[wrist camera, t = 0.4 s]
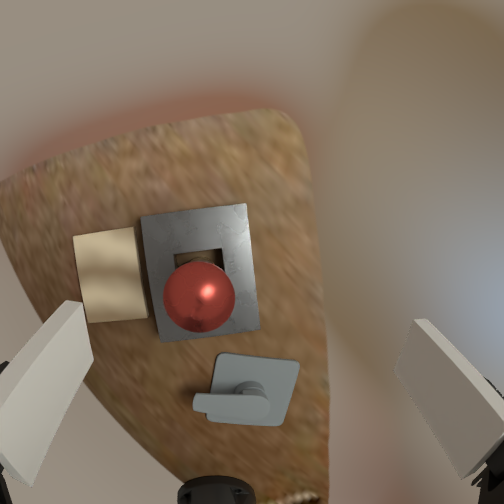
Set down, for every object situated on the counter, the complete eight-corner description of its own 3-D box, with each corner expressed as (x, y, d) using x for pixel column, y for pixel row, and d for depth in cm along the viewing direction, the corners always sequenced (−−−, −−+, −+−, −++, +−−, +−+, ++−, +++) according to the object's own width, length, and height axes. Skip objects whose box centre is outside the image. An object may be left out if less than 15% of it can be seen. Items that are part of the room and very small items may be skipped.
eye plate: (256, 322, 41) (260, 329, 38) (163, 334, 39) (160, 342, 36) (242, 205, 39) (246, 203, 36) (145, 217, 37) (140, 216, 34)
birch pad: (149, 315, 38) (147, 317, 37) (91, 320, 37) (88, 323, 36) (135, 226, 37) (133, 226, 36) (76, 236, 36) (72, 236, 35)
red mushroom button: (226, 291, 40) (239, 327, 25) (182, 296, 39) (170, 336, 24) (220, 246, 39) (230, 257, 24) (175, 252, 38) (157, 267, 23)
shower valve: (199, 363, 35) (311, 375, 37) (199, 346, 40) (299, 359, 43) (188, 436, 35) (288, 442, 38) (189, 415, 41) (280, 423, 43)
